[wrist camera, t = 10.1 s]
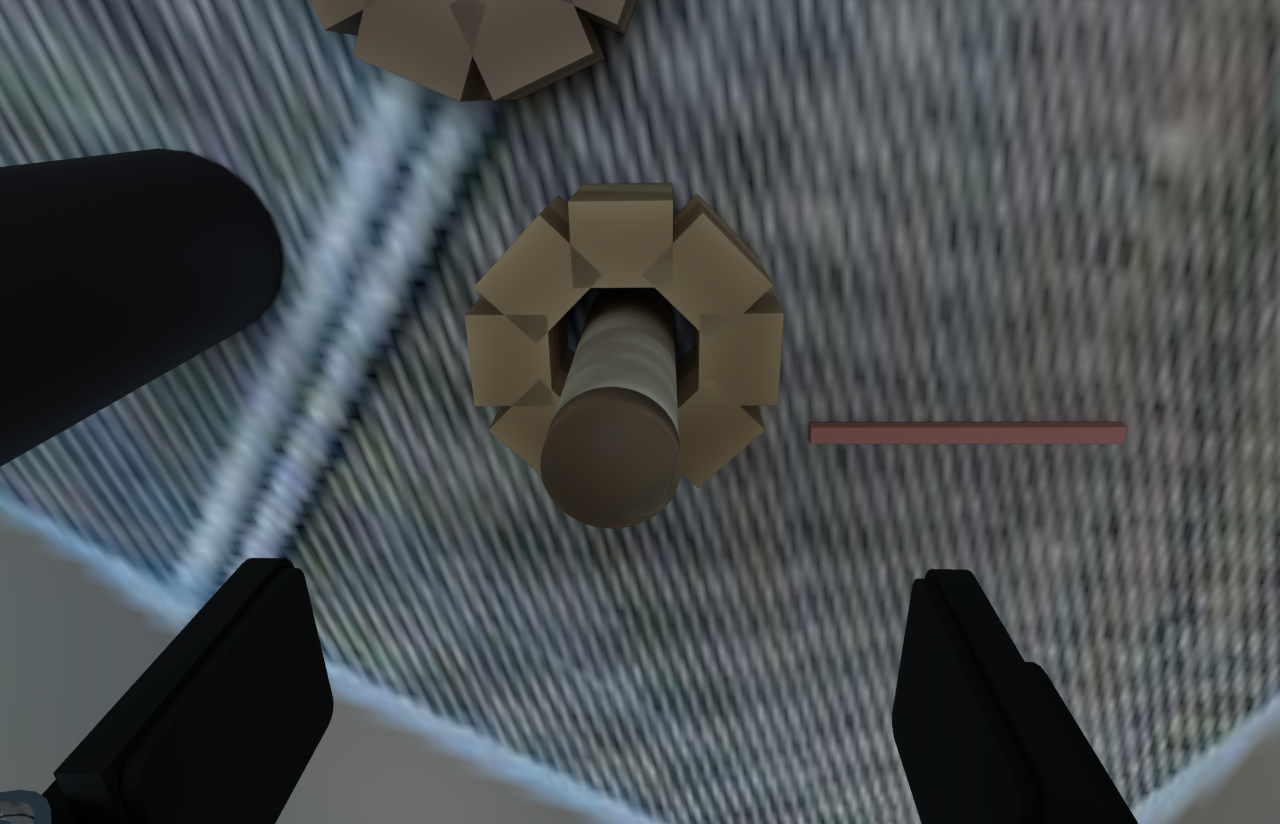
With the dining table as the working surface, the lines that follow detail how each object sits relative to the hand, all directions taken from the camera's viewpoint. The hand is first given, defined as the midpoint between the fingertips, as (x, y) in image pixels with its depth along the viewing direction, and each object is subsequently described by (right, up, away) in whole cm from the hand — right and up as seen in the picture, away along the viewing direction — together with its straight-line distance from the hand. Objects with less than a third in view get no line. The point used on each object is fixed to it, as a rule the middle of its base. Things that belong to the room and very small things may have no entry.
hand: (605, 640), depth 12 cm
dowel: (0, +7, +17) cm, 18 cm away
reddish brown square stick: (+13, +3, +18) cm, 23 cm away
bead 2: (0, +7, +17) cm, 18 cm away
